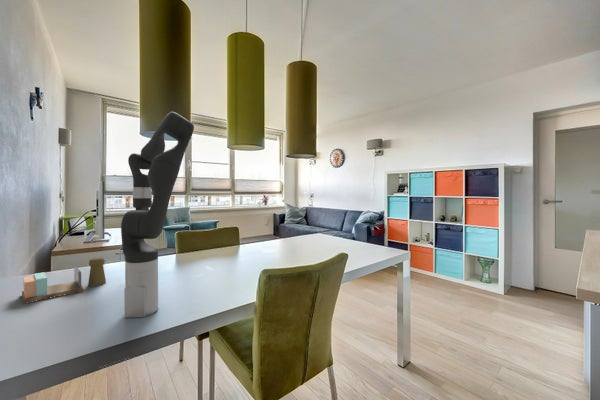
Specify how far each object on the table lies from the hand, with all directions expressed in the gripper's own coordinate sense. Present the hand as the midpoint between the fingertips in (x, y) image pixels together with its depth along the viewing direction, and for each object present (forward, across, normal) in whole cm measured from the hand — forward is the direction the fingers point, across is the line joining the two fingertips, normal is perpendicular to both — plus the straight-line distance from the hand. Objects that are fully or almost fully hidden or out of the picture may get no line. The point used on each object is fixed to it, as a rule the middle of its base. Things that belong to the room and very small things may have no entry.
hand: (142, 231), depth 123 cm
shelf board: (+20, -23, +20) cm, 37 cm away
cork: (+20, -13, +11) cm, 27 cm away
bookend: (+18, -18, +16) cm, 30 cm away
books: (+18, -27, +24) cm, 40 cm away
